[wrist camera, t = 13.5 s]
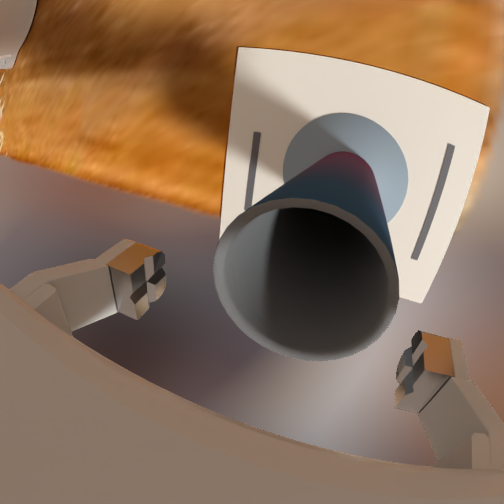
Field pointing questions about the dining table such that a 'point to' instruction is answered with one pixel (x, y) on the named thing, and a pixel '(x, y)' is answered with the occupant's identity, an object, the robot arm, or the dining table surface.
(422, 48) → the dining table surface
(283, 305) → the cup
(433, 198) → the paper sheet
